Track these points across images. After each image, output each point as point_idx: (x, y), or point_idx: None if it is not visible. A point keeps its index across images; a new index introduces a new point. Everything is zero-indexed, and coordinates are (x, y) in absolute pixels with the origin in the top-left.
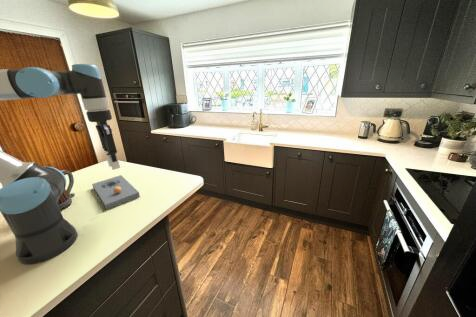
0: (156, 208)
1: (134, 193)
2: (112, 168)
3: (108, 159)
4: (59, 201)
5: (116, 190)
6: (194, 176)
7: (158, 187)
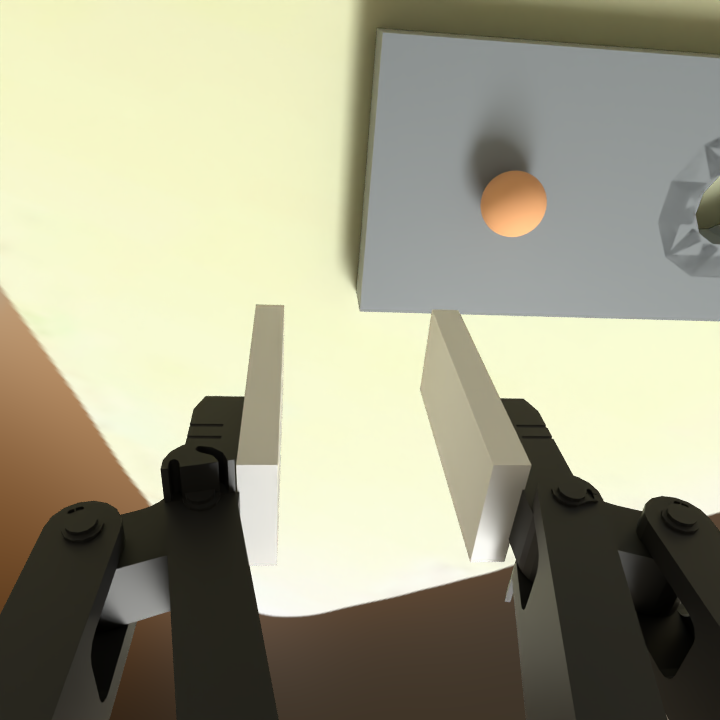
0: (90, 305)
1: (368, 281)
2: (256, 315)
3: (455, 383)
4: None
5: (492, 193)
6: (313, 613)
7: (375, 426)
